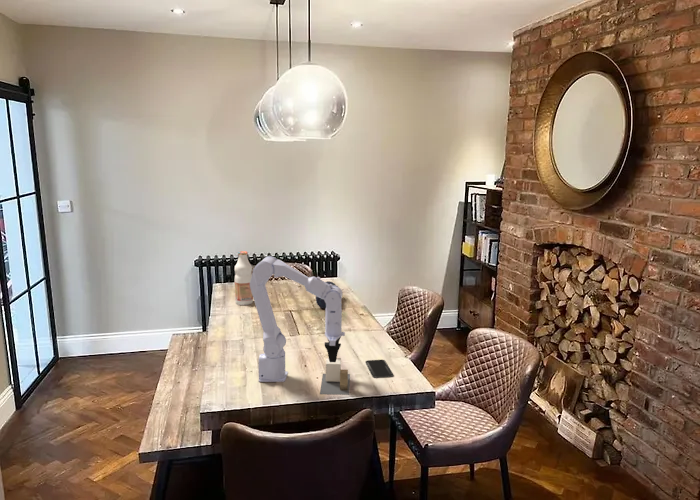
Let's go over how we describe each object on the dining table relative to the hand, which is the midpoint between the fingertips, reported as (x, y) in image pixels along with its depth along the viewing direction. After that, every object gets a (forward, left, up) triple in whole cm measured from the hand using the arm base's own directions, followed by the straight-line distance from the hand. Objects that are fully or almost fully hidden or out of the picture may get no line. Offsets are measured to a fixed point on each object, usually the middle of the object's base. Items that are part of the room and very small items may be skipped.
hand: (333, 357), depth 179 cm
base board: (+1, -4, -9) cm, 9 cm away
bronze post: (+4, -7, -8) cm, 12 cm away
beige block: (0, 0, -8) cm, 8 cm away
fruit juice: (-52, +91, -9) cm, 106 cm away
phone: (+17, +9, -9) cm, 22 cm away
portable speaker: (-7, +94, -9) cm, 94 cm away
